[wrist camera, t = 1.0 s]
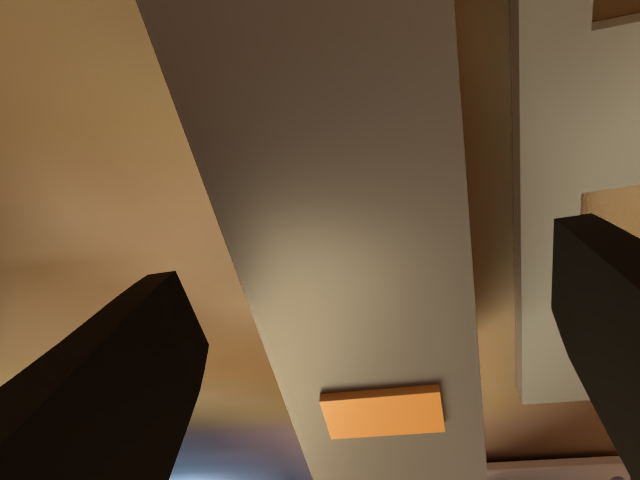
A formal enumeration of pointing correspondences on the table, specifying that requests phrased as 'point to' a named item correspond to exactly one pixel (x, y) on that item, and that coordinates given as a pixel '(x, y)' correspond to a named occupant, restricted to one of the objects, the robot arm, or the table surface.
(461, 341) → the brown notched block
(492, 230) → the table surface
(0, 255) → the table surface
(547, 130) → the keyhole board
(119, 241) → the table surface
